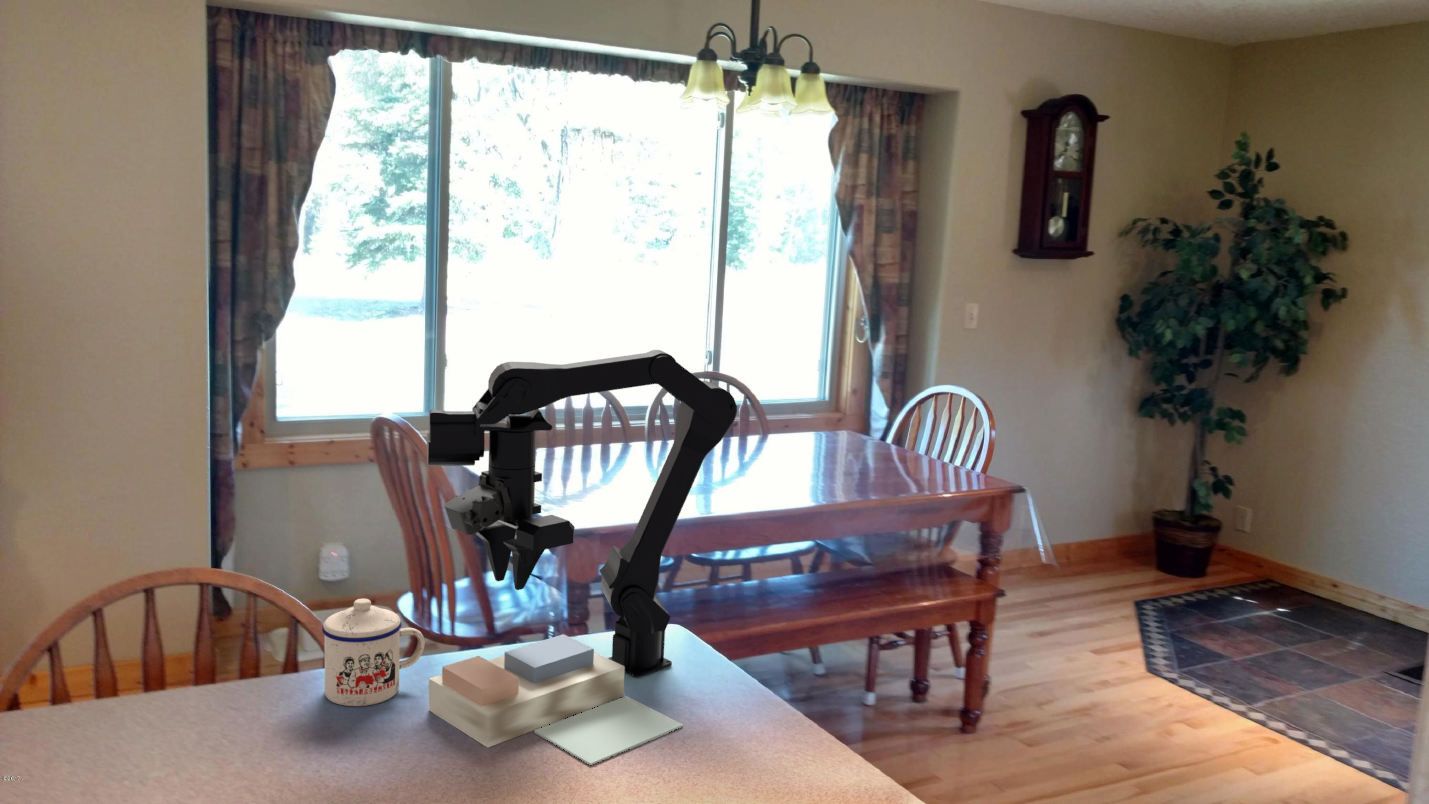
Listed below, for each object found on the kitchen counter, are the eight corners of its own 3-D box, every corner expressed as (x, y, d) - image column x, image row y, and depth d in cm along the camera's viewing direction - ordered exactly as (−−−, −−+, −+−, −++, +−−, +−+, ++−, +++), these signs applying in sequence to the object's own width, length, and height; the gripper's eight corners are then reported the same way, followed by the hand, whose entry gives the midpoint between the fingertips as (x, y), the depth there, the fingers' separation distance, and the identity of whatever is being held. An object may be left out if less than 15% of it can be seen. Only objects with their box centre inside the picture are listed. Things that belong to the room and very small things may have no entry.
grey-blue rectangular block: (563, 649, 137) (563, 634, 136) (593, 664, 133) (593, 648, 132) (504, 667, 130) (504, 652, 130) (534, 683, 126) (534, 667, 126)
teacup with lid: (330, 714, 125) (329, 618, 123) (316, 683, 132) (315, 593, 131) (433, 696, 131) (434, 605, 129) (414, 668, 138) (415, 581, 136)
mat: (626, 698, 133) (626, 696, 133) (682, 727, 126) (682, 724, 126) (534, 732, 123) (534, 730, 123) (590, 766, 116) (590, 763, 116)
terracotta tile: (478, 671, 129) (478, 655, 129) (518, 693, 123) (518, 677, 123) (442, 682, 125) (442, 666, 125) (481, 706, 120) (481, 689, 120)
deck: (562, 666, 141) (563, 637, 141) (623, 697, 133) (624, 666, 132) (428, 710, 127) (429, 678, 126) (487, 747, 119) (488, 713, 118)
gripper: (414, 458, 134) (413, 578, 136) (502, 489, 121) (499, 620, 124) (489, 448, 142) (487, 561, 144) (579, 476, 129) (575, 600, 132)
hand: (509, 584), depth 136 cm, fingers open, 4 cm apart
